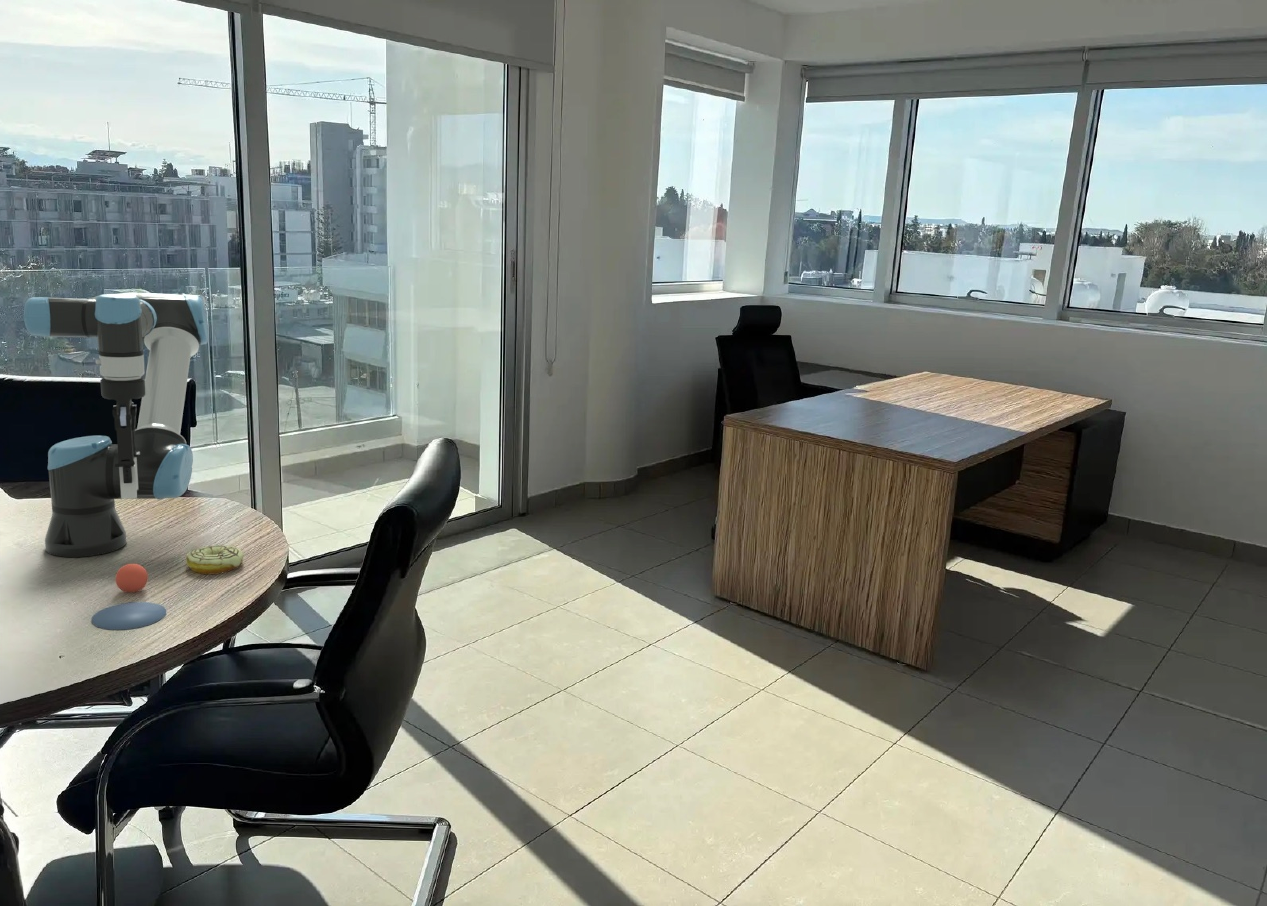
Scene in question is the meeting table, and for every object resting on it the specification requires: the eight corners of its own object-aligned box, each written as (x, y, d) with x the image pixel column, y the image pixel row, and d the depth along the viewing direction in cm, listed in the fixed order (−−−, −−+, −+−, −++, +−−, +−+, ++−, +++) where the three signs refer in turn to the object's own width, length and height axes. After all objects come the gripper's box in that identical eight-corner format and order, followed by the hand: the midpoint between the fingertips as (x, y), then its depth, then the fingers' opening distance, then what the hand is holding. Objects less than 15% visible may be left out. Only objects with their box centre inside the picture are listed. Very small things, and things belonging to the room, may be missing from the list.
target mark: (85, 611, 176) (85, 610, 176) (156, 598, 183) (156, 597, 183) (99, 635, 167) (99, 634, 167) (174, 620, 174) (174, 619, 174)
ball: (113, 589, 186) (111, 562, 185) (144, 584, 189) (142, 557, 188) (120, 599, 182) (118, 571, 181) (151, 593, 185) (150, 566, 184)
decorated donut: (249, 571, 200) (248, 554, 199) (193, 580, 194) (192, 562, 193) (235, 555, 208) (235, 539, 207) (182, 563, 202) (181, 546, 201)
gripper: (103, 368, 191) (111, 482, 197) (96, 385, 175) (104, 508, 180) (146, 368, 194) (152, 480, 200) (142, 385, 178) (149, 506, 184)
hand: (129, 493), depth 190 cm, fingers open, 5 cm apart
